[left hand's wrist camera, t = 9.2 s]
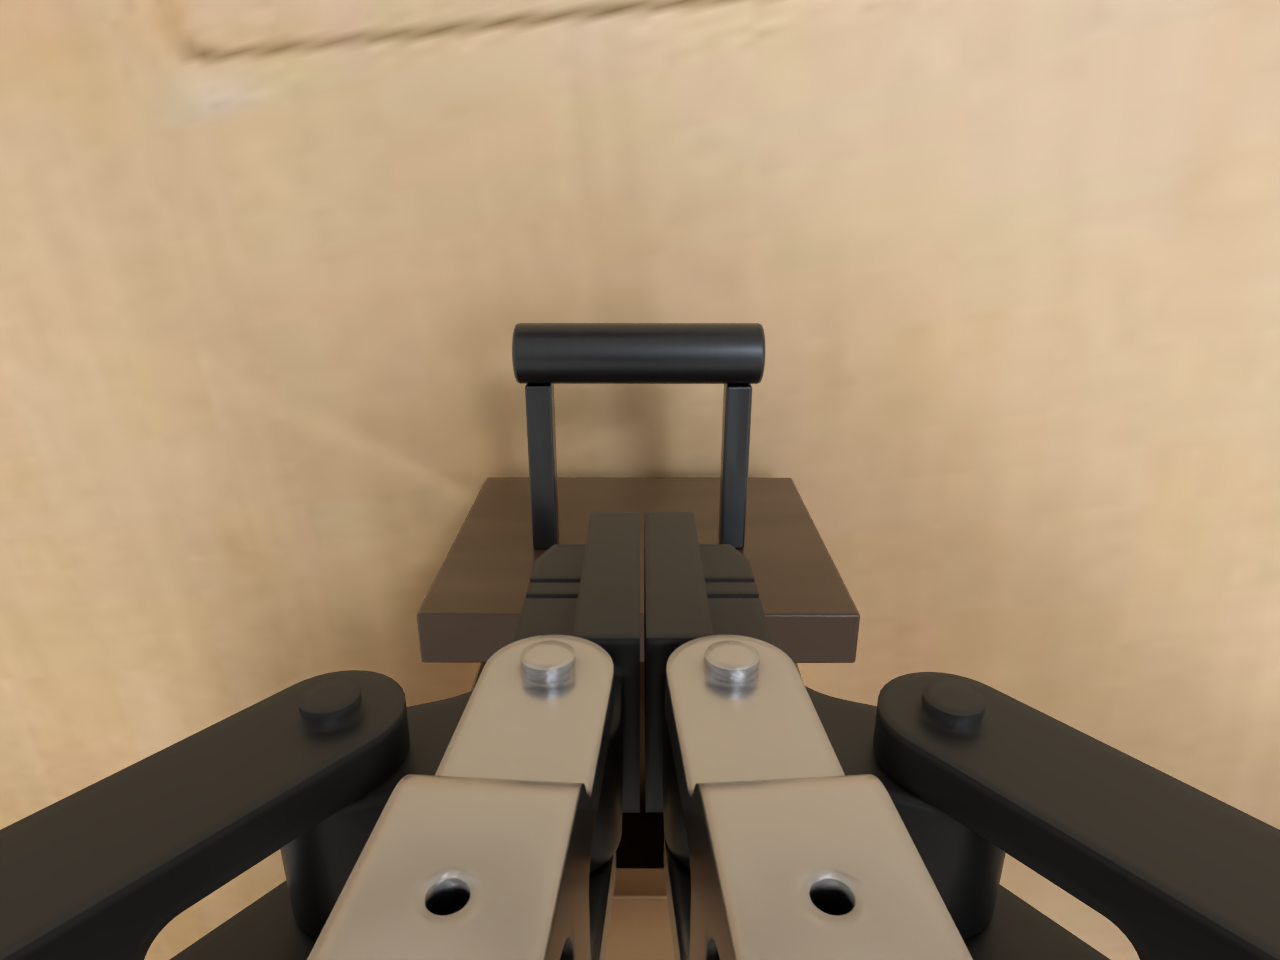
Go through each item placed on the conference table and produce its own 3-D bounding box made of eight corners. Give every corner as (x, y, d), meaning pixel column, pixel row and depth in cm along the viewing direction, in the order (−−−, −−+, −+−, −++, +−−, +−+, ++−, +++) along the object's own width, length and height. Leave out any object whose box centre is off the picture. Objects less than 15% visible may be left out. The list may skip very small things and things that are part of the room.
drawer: (473, 294, 23) (387, 354, 15) (804, 294, 23) (888, 355, 15) (519, 951, 32) (479, 1205, 24) (758, 952, 32) (797, 1206, 24)
